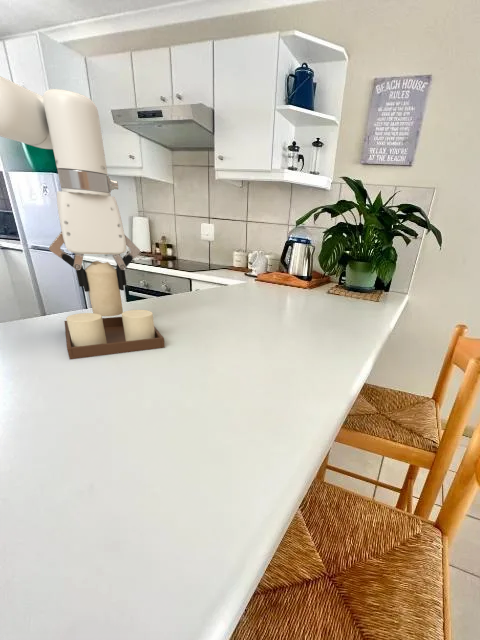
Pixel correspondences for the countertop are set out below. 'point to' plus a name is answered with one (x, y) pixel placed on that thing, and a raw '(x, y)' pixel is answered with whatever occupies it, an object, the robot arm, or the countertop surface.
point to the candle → (104, 289)
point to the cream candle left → (86, 329)
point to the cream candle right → (138, 325)
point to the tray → (113, 341)
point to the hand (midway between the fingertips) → (104, 288)
